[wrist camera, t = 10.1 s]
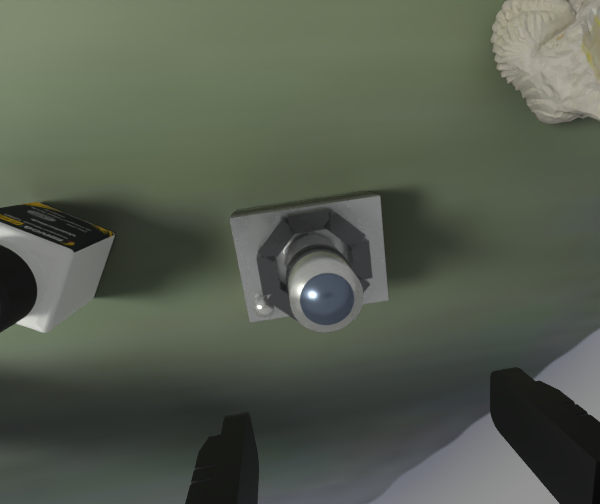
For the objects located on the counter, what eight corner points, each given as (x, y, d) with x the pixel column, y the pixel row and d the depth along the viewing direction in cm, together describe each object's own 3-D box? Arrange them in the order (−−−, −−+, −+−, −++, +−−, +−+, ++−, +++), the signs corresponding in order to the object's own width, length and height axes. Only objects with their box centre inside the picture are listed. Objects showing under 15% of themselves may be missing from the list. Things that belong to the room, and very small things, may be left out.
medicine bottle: (117, 232, 31) (23, 273, 20) (94, 299, 33) (-6, 374, 21) (37, 200, 30) (-114, 223, 18) (16, 271, 31) (-135, 334, 20)
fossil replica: (497, -21, 28) (449, 105, 31) (569, -83, 20) (496, 93, 24) (629, 22, 29) (570, 141, 32) (749, -23, 21) (655, 141, 24)
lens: (288, 291, 28) (294, 341, 20) (280, 238, 27) (282, 269, 19) (343, 282, 29) (369, 329, 21) (337, 229, 27) (362, 256, 19)
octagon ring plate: (253, 300, 34) (247, 334, 27) (235, 209, 31) (225, 222, 25) (373, 281, 34) (397, 310, 27) (364, 190, 32) (388, 197, 25)
